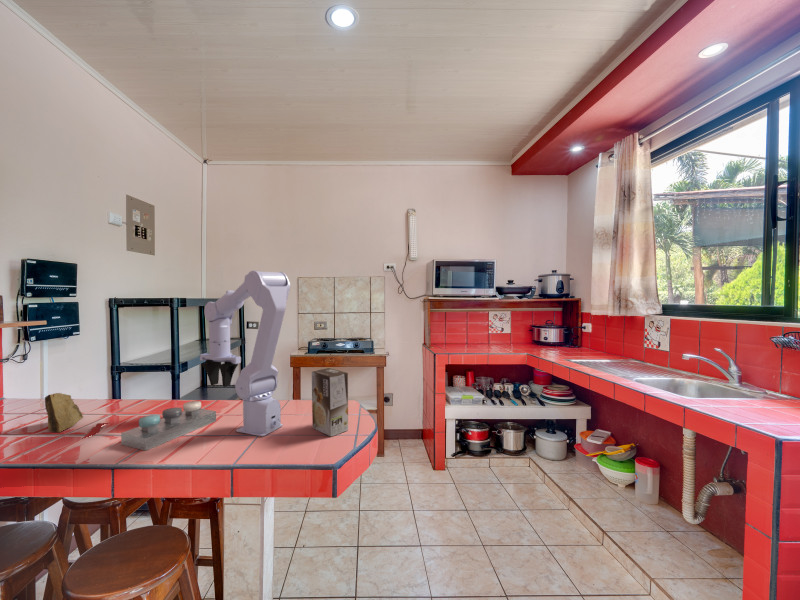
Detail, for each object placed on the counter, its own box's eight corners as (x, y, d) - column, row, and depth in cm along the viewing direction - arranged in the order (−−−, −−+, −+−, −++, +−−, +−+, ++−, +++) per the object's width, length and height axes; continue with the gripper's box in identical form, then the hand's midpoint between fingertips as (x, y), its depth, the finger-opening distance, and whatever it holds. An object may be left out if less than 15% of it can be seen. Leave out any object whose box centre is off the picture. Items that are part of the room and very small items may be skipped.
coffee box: (349, 430, 96) (349, 372, 96) (330, 437, 92) (330, 376, 91) (329, 421, 102) (329, 367, 102) (310, 428, 98) (310, 371, 97)
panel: (216, 421, 103) (215, 411, 103) (145, 450, 84) (145, 438, 84) (194, 417, 106) (193, 407, 106) (121, 444, 87) (121, 432, 87)
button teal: (164, 430, 91) (164, 416, 90) (146, 436, 86) (146, 422, 86) (152, 427, 92) (152, 413, 92) (135, 434, 88) (134, 419, 88)
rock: (72, 408, 107) (31, 415, 97) (87, 387, 106) (47, 392, 97) (90, 433, 104) (49, 443, 94) (106, 412, 103) (66, 419, 94)
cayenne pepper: (106, 423, 102) (106, 417, 102) (121, 424, 102) (121, 417, 102) (66, 441, 90) (65, 434, 90) (83, 442, 90) (83, 434, 90)
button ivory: (204, 414, 102) (204, 402, 102) (191, 419, 98) (190, 406, 98) (193, 412, 103) (193, 400, 103) (179, 417, 99) (179, 404, 99)
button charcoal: (185, 421, 96) (185, 408, 96) (170, 427, 92) (170, 414, 92) (174, 419, 98) (174, 406, 98) (158, 425, 94) (158, 411, 93)
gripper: (248, 340, 108) (248, 384, 108) (213, 338, 113) (214, 379, 113) (229, 343, 101) (230, 390, 102) (193, 341, 106) (194, 385, 107)
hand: (220, 385), depth 107 cm, fingers open, 4 cm apart
